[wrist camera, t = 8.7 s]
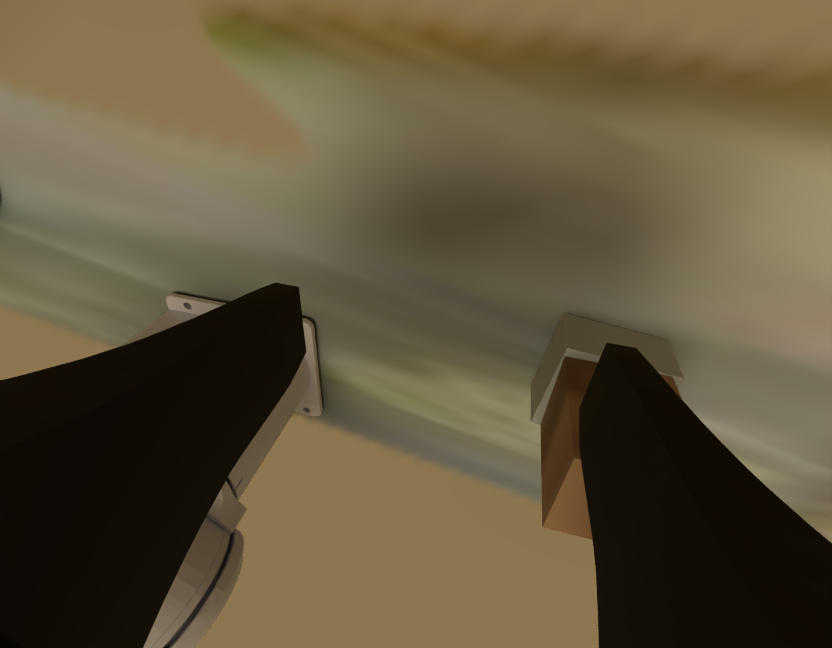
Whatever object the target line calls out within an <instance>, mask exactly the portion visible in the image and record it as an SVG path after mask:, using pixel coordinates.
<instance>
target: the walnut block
mask: <svg viewBox="0 0 832 648" xmlns="http://www.w3.org/2000/svg"><path fill="white" fill-rule="evenodd" d="M597 364H598V362H593V361H587V360H582V359H577V358H571V357H566V356H565V357H564V359H563V362H562V365H561V368H560V371H559V374H558V376H557V379H556V382H555V385H554V388H553V390H552V393H551V396H550V399H549V402H548V404H547V407H546V410H545V413H544V416H543V419H542V421H541V473H542V526H543V527H544V528H548V529H552V530H556V531H560V532H564V533H568V534H572V535H576V536H580V537H584V538H588V539H592V533H591V526H590V519H589V512H588V506H587V499H586V492H585V485H584V478H583V471H582V464H581V457H580V449H579V407H580V404H581V402H582V400H583V397H584V395H585V392H586V390H587V388H588V385H589V383H590V381H591V378H592V376H593V373H594V371H595V369H596V366H597ZM660 375H661V376H662V377H663V379H664V380H665V381H666V382H667V383H668V384H669V386H670V387H671V388H672V389H673V390H674V391H675V392H676V394H677V395H678V396H679V397H680V398H681V396H680V394H679V391H678V389H677V386H676V384H675V381H674V379H673V376H667V375H662V374H660ZM592 540H593V539H592Z"/></svg>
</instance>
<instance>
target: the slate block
mask: <svg viewBox="0 0 832 648" xmlns="http://www.w3.org/2000/svg"><path fill="white" fill-rule="evenodd" d="M606 342H607V343H612V344H618V345H623V346H629V347H634V348H637V349H638V350H639V351H640V352H641V354H642V355H643V356H644V357H645V358H646V359H647V360H648V361H649V362H650V364H651V365H652V366H653V367H654V368H655V369H656V371H657V372H658V373H659V374H662V375H667V376H673V379H674V381H675V384H676V386H677V387H678V386H679V385H680V383H681V382H682V381H683V380H684V377H683V375H682V372H681V370H680V368H679V365H678V363H677V361H676V358H675V356H674V354H673V351H672V349H671V347H670V344H669V342H668V340H667V339H663V338H659V337H655V336H651V335H647V334H643V333H639V332H636V331H632V330H628V329H624V328H620V327H616V326H612V325H608V324H604V323H600V322H597V321H593V320H589V319H585V318H581V317H577V316H573V315H569V314H565V313H563V316H562V318H561V320H560V322H559V324H558V327H557V329H556V331H555V333H554V335H553V338H552V340H551V342H550V344H549V346H548V348H547V351H546V353H545V355H544V357H543V359H542V362H541V364H540V366H539V368H538V370H537V373H536V375H535V377H534V379H533V381H532V384H531V422H533V423H537V424H541V421H542V419H543V416H544V413H545V410H546V407H547V404H548V402H549V399H550V396H551V393H552V390H553V388H554V385H555V382H556V379H557V376H558V374H559V371H560V368H561V365H562V362H563V359H564V357H565V356H566V357H571V358H577V359H582V360H587V361H593V362H598V361H599V359H600V357H601V354H602V352H603V350H604V347H605V345H606Z"/></svg>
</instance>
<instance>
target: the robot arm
mask: <svg viewBox="0 0 832 648" xmlns="http://www.w3.org/2000/svg"><path fill="white" fill-rule="evenodd" d="M166 303H167V305H168V308H169V310H168V311H167V312H165V313H164V314H163V315H162V316H160V317H159V318H158V319H156V320H155V321H154V322H152V323H151V324H150V325H149V326H147V327H146V328H145V329H143V330H142V331H141V332H139V333H138V334H137V335H136V336H134V337H133V338H132V339H130V340H129V341H128V342H126V343H125V344H124V345H122V346H121V347H118V348H115V349H111V350H108V351H105V352H102V353H99V354H96V355H93V356H90V357H87V358H83V359H80V360H77V361H73V362H70V363H66V364H62V365H58V366H55V367H51V368H47V369H43V370H40V371H36V372H33V373H28V374H25V375H21V376H17V377H13V378H9V379H5V380H0V648H195V647H196V646H197V644H198V643H199V642H200V641H201V640H202V638H203V637H204V636H205V634H206V633H207V632H208V630H209V629H210V628H211V626H212V625H213V623H214V622H215V620H216V619H217V617H218V616H219V614H220V613H221V611H222V609H223V608H224V606H225V604H226V602H227V601H228V599H229V597H230V595H231V593H232V591H233V588H234V586H235V584H236V582H237V579H238V576H239V574H240V570H241V566H242V561H243V549H244V538H243V535H242V534H241V532H240V531H239V530H237V529H236V526H237V525H238V523H239V521H240V520H241V518H242V516H243V515H244V513H245V511H246V510H247V509H246V507H244V506H243V505H242V504H241V503H240V502H239V501H238V500H239V498H240V497H241V495H242V493H243V492H244V490H245V489H246V487H247V485H248V484H249V482H250V481H251V479H252V478H253V476H254V474H255V473H256V471H257V470H258V468H259V466H260V465H261V463H262V462H263V460H264V459H265V457H266V455H267V454H268V452H269V451H270V449H271V447H272V445H273V444H274V443H275V441H276V439H277V438H278V436H279V435H280V433H281V431H282V430H283V428H284V427H285V425H286V424H287V422H288V420H289V419H290V417H291V416H292V414H293V412H297V413H301V414H306V415H310V416H315V417H318V416H320V415H321V413H322V411H323V408H322V399H321V389H320V379H319V369H318V359H317V350H316V340H315V330H314V325H313V323H312V322H311V321H310V320H308V319H305V318H302V311H301V302H300V294H299V287H296V286H291V285H285V284H280V283H274V284H271V285H268V286H265V287H263V288H260V289H258V290H255V291H253V292H251V293H248V294H246V295H244V296H242V297H239V298H237V299H235V300H233V301H231V302H228V303H222V302H217V301H212V300H207V299H201V298H196V297H191V296H186V295H181V294H175V293H172V294H170V295H169V296H167V297H166ZM579 449H580V457H581V464H582V471H583V478H584V485H585V492H586V499H587V506H588V512H589V519H590V526H591V533H592V539H593V546H594V556H595V565H596V580H597V602H598V626H599V627H598V628H599V648H832V543H831V542H829V541H828V540H827V539H826V538H825V537H823V536H822V535H821V534H820V533H819V532H817V531H816V530H815V529H814V528H813V527H811V526H810V525H809V524H808V523H807V522H806V521H804V520H803V519H802V518H801V517H800V516H799V515H798V514H797V513H795V512H794V511H793V510H792V509H791V508H790V507H789V506H788V505H786V504H785V503H784V502H783V501H782V500H781V499H780V498H779V497H777V496H776V495H775V494H774V493H773V492H772V491H771V490H770V489H768V488H767V487H766V486H765V485H764V484H763V483H762V482H761V481H760V480H759V479H758V478H757V477H756V476H755V475H753V474H752V473H751V472H750V471H749V470H748V469H747V468H746V467H745V466H744V465H743V464H742V463H741V462H740V461H739V460H738V459H737V458H736V457H735V456H734V455H733V454H732V453H731V452H730V451H729V450H728V449H727V448H726V447H725V446H724V445H723V444H722V443H721V442H720V441H719V440H718V439H717V437H716V436H715V435H714V434H713V433H712V432H711V431H710V430H709V429H708V428H707V427H706V426H705V425H704V424H703V423H702V422H701V420H700V419H699V418H698V417H697V416H696V415H695V414H694V413H693V412H692V411H691V409H690V408H689V407H688V406H687V405H686V404H685V403H684V402H683V400H682V399H681V398H680V397H679V396H678V395H677V394H676V392H675V391H674V390H673V389H672V388H671V387H670V386H669V384H668V383H667V382H666V381H665V380H664V379H663V377H662V376H661V375H660V374H659V373H658V372H657V371H656V369H655V368H654V367H653V366H652V365H651V364H650V362H649V361H648V360H647V359H646V358H645V357H644V356H643V355H642V354H641V352H640V351H639V350H638V349H637V348H634V347H629V346H623V345H618V344H612V343H607V342H606V345H605V347H604V350H603V352H602V354H601V357H600V359H599V361H598V364H597V366H596V369H595V371H594V373H593V376H592V378H591V381H590V383H589V385H588V388H587V390H586V392H585V395H584V397H583V400H582V402H581V404H580V407H579Z"/></svg>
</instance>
